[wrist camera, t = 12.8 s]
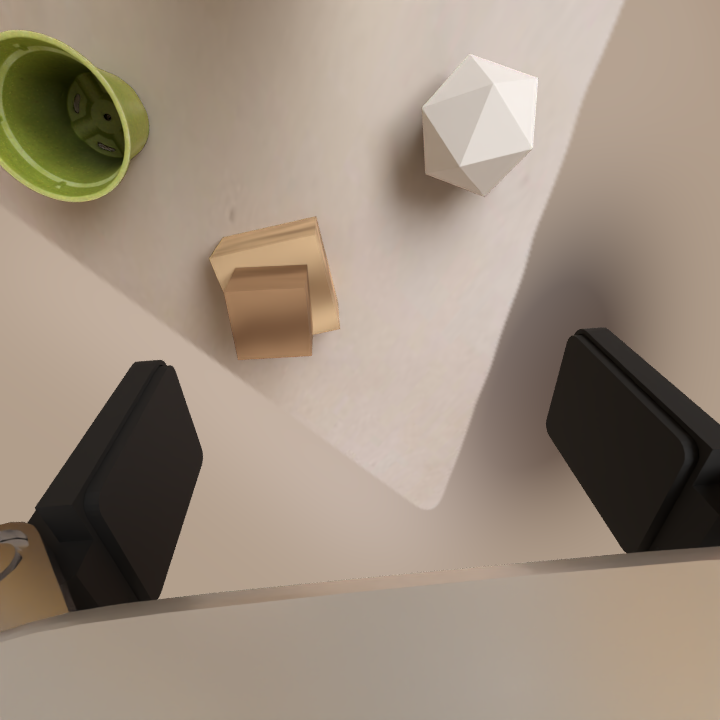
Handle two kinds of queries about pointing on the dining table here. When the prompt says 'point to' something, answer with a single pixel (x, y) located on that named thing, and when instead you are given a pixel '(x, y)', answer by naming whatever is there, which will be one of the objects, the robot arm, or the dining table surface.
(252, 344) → the walnut block
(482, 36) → the dining table surface
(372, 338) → the dining table surface
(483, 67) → the die
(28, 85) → the plant pot
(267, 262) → the oak base
